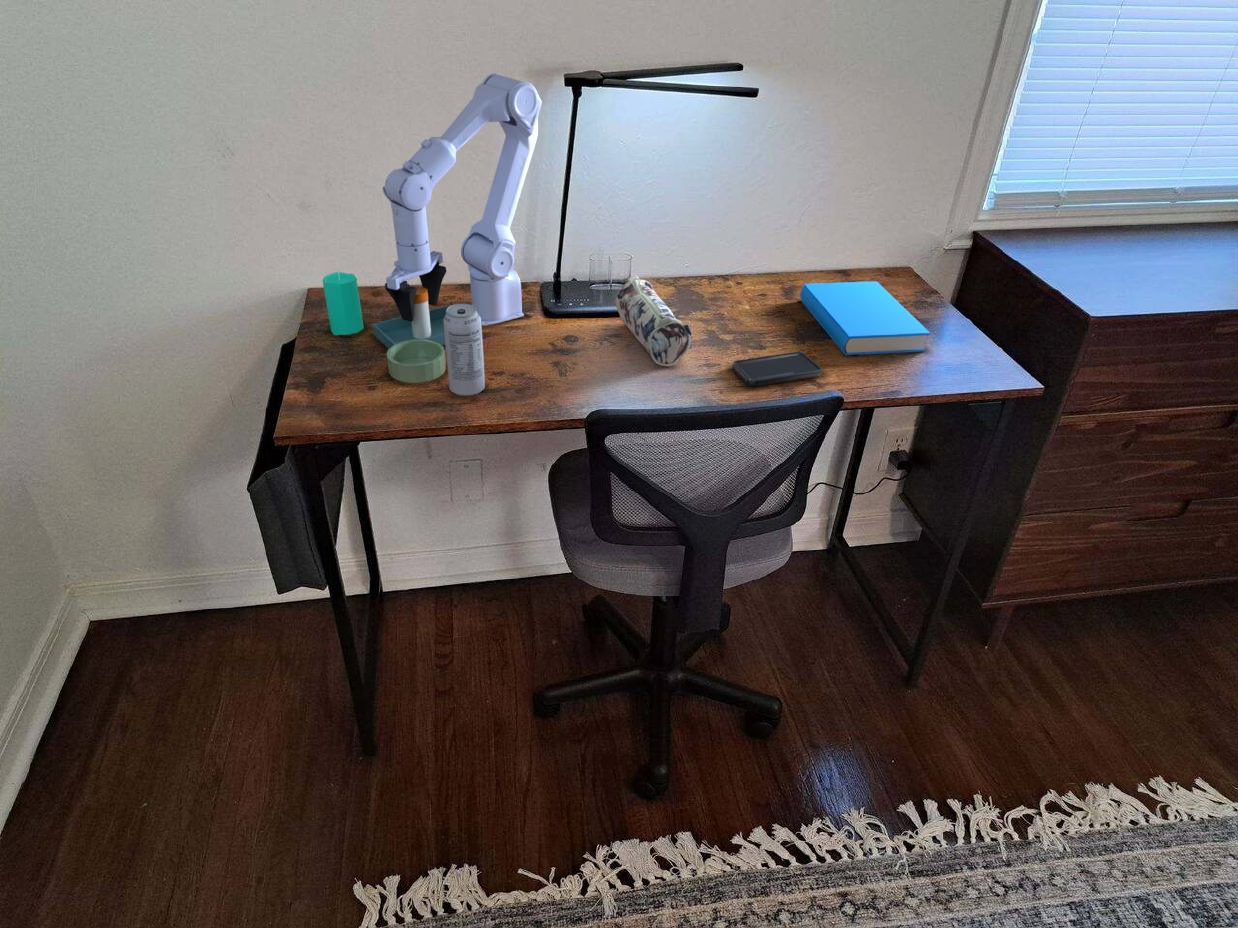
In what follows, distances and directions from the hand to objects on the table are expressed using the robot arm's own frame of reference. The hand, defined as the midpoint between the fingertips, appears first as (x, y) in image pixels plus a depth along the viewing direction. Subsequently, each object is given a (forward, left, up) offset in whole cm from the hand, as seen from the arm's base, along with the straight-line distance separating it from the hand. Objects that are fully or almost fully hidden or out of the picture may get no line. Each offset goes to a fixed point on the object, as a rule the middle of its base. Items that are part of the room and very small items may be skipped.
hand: (420, 312), depth 156 cm
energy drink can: (+3, +22, -5) cm, 23 cm away
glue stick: (0, 0, -5) cm, 5 cm away
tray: (0, 0, -5) cm, 5 cm away
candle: (+11, -10, -5) cm, 16 cm away
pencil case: (-35, +25, -5) cm, 44 cm away
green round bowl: (+7, +12, -5) cm, 14 cm away
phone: (-47, +47, -5) cm, 67 cm away
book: (-76, +42, -5) cm, 87 cm away
